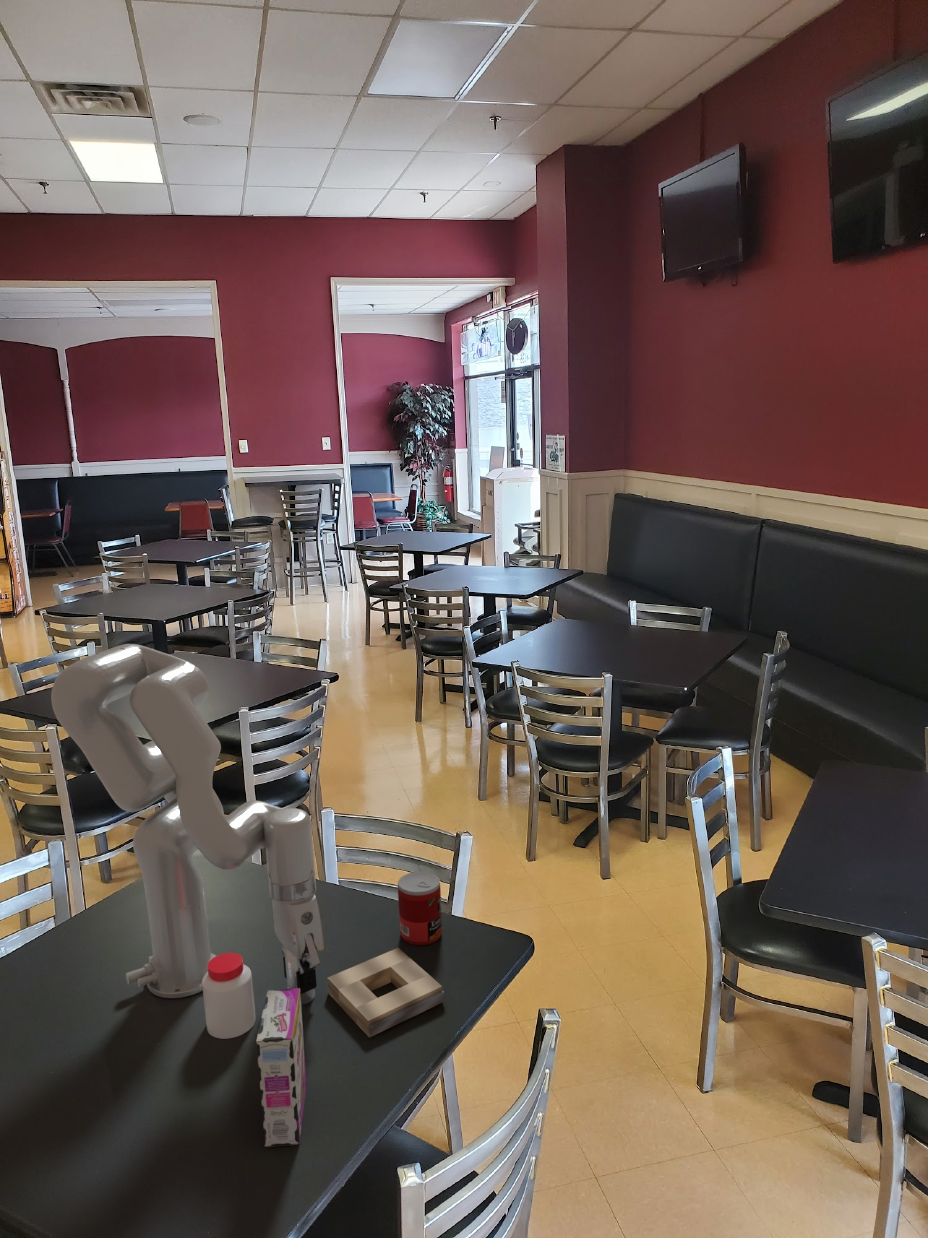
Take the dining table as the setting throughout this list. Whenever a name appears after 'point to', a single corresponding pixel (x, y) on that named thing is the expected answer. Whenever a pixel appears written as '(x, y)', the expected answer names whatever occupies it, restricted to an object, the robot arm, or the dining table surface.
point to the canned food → (420, 908)
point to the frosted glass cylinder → (291, 976)
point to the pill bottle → (228, 996)
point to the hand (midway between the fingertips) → (300, 982)
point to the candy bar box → (282, 1067)
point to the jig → (392, 1007)
